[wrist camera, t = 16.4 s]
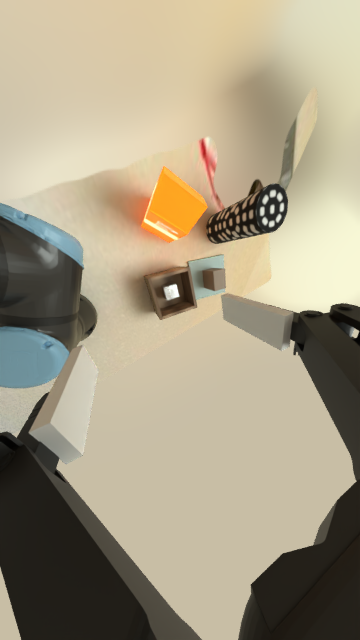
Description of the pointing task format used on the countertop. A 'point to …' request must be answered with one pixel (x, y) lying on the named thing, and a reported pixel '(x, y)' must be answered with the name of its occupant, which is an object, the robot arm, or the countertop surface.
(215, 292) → the lid
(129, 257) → the countertop surface
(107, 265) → the countertop surface
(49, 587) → the robot arm
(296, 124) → the countertop surface
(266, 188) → the white-spotted black cylinder
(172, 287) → the metal cube
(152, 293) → the storage box
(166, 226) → the orange juice
